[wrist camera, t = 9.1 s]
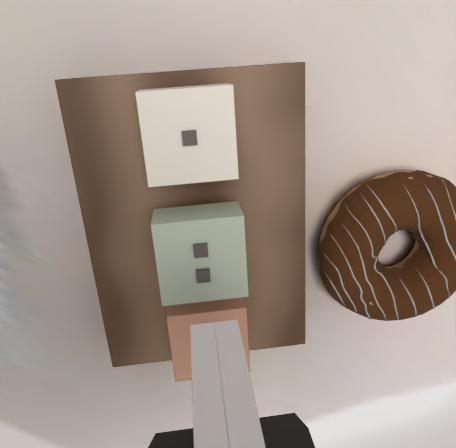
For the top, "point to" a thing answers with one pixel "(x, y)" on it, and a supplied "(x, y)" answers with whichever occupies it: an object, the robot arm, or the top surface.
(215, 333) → the robot arm
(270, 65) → the keypad
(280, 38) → the top surface
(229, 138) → the cream key
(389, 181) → the donut
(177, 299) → the sage key
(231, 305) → the terracotta key
